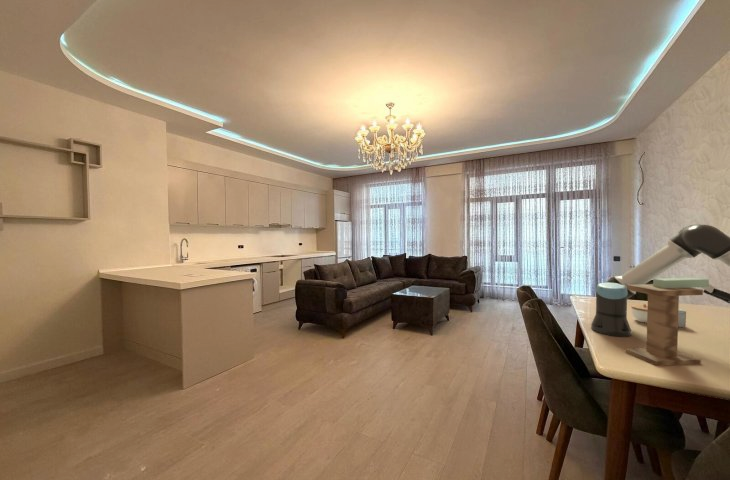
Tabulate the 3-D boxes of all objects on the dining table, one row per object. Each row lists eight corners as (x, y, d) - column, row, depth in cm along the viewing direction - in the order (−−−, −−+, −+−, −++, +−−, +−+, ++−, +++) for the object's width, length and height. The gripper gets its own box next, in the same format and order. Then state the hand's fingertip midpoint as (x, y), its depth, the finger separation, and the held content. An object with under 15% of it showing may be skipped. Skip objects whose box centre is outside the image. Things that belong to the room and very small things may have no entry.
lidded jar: (631, 317, 167) (631, 301, 167) (657, 321, 160) (658, 304, 159) (630, 321, 160) (631, 304, 159) (658, 325, 152) (659, 308, 152)
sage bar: (696, 285, 117) (696, 277, 117) (708, 287, 113) (708, 279, 113) (653, 286, 115) (653, 278, 115) (664, 288, 111) (664, 280, 111)
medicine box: (682, 325, 152) (683, 309, 152) (685, 328, 149) (686, 311, 148) (661, 323, 157) (662, 307, 156) (664, 325, 153) (664, 309, 152)
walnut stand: (665, 350, 121) (667, 283, 120) (700, 363, 109) (703, 289, 108) (625, 352, 120) (627, 284, 119) (657, 365, 108) (659, 290, 107)
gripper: (805, 328, 106) (762, 301, 104) (716, 310, 131) (680, 287, 129) (814, 310, 107) (772, 282, 104) (724, 295, 131) (688, 273, 129)
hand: (721, 285), depth 117 cm, fingers open, 13 cm apart
